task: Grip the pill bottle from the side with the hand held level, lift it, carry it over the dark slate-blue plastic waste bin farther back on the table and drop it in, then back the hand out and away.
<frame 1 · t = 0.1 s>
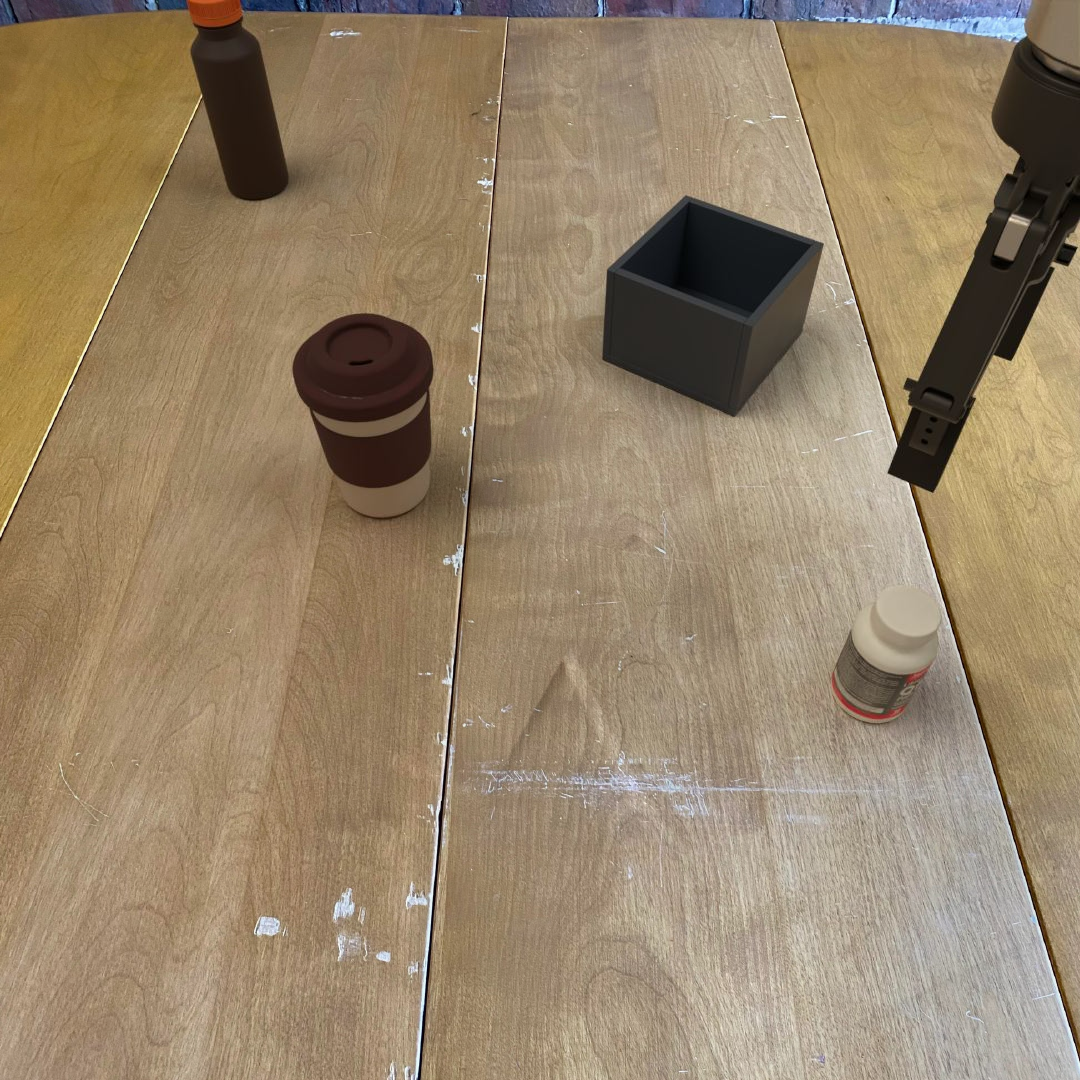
hand: (954, 411, 59), 18 cm above the table, tool pointing down, fingers open, 13 cm apart
coffee cup: (386, 488, 81), on the table
waste bin: (702, 346, 92), on the table
brown water bottle: (259, 185, 110), on the table
pill bottle: (867, 692, 69), on the table
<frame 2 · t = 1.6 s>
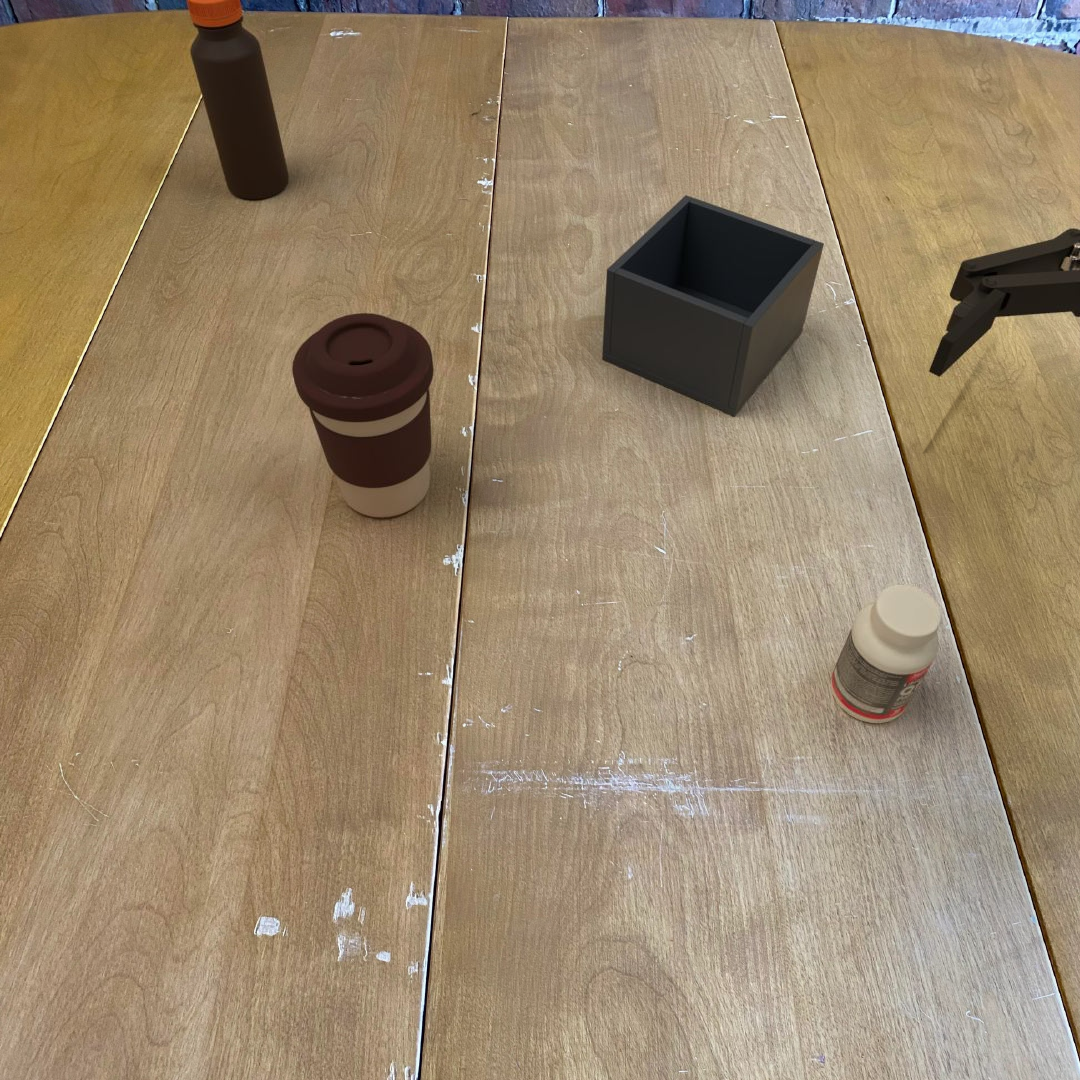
hand: (1046, 411, 57), 20 cm above the table, tool horizontal, fingers open, 13 cm apart
nothing on the table moved.
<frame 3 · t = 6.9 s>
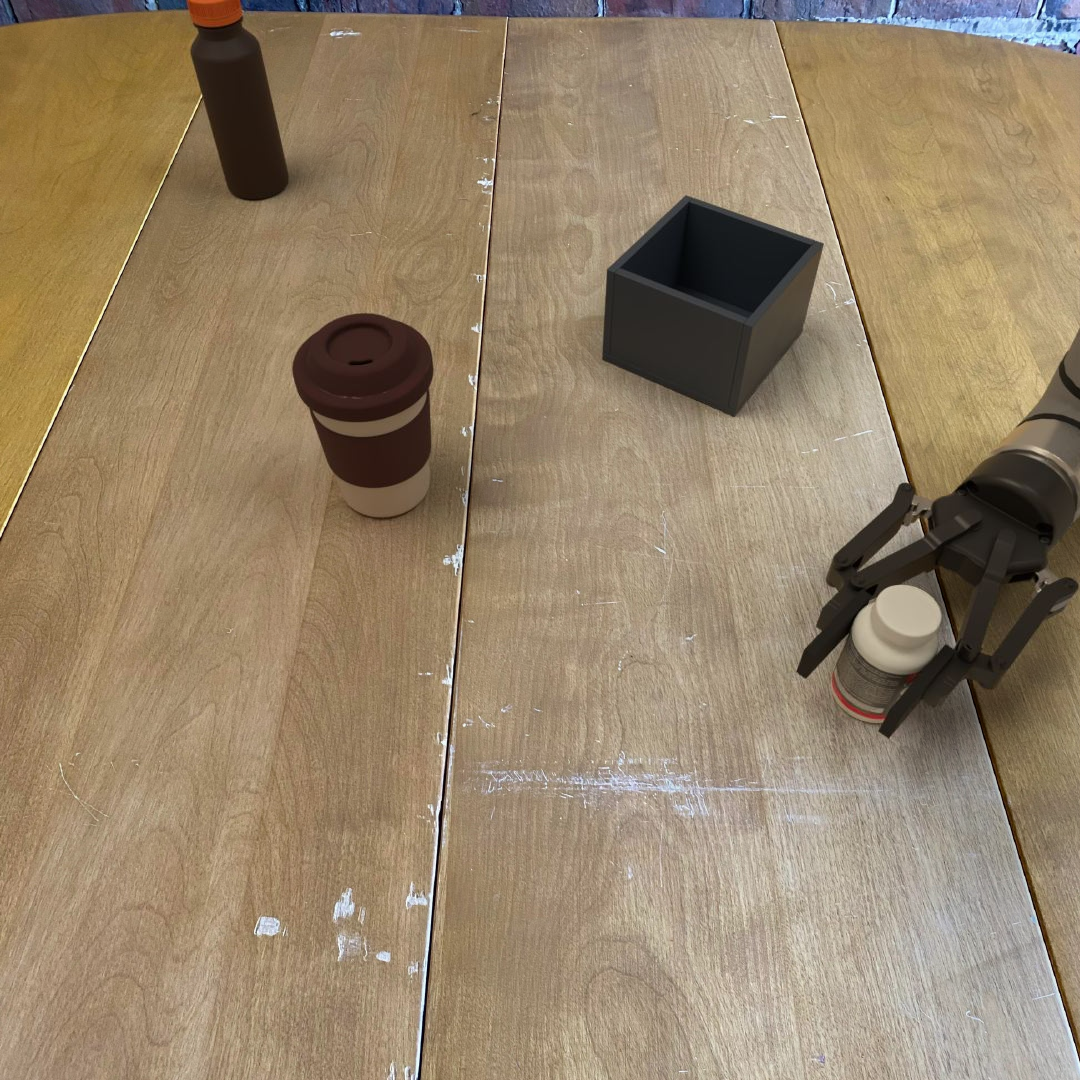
hand: (846, 693, 61), 6 cm above the table, tool horizontal, fingers closed on pill bottle, 5 cm apart
pill bottle: (867, 692, 69), on the table, touching gripper
everything else where it was.
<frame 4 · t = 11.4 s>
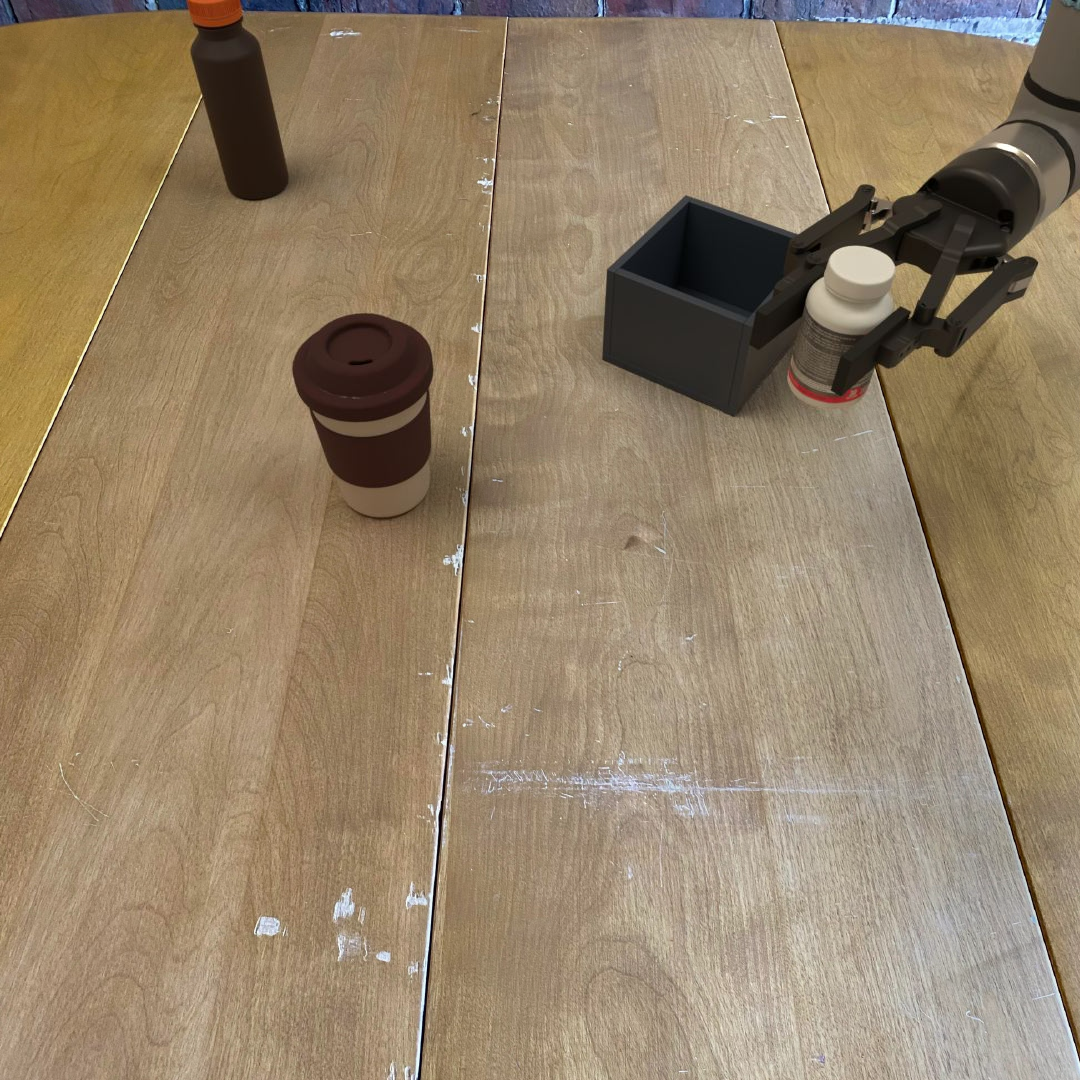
hand: (798, 352, 60), 20 cm above the table, tool horizontal, fingers closed on pill bottle, 5 cm apart
pill bottle: (825, 387, 67), point 14 cm above the table, touching gripper
everything else where it was.
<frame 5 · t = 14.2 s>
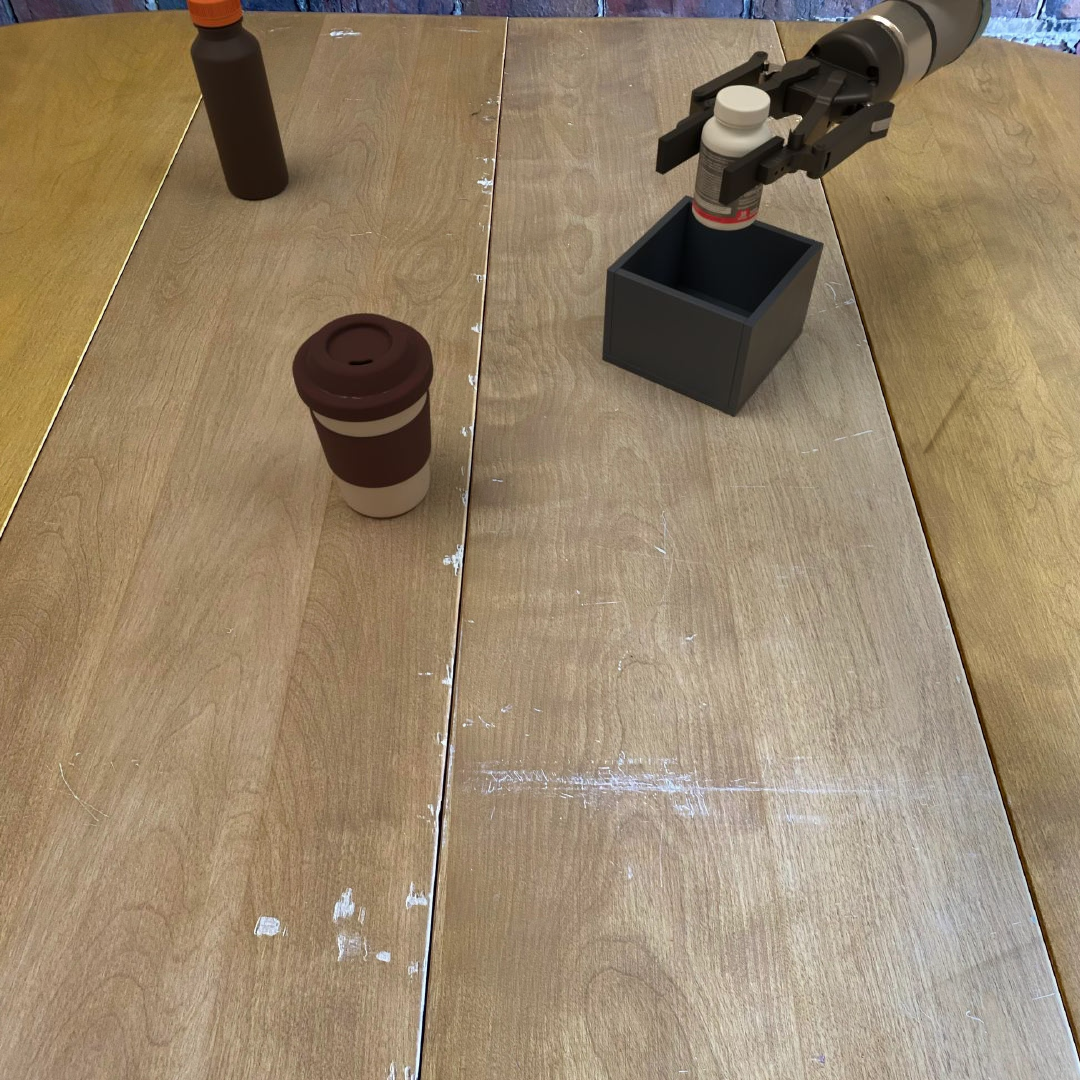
hand: (692, 171, 74), 20 cm above the table, tool horizontal, fingers closed on pill bottle, 5 cm apart
pill bottle: (724, 216, 81), point 14 cm above the table, touching gripper
everything else where it was.
when the fingers open (14 cm above the table, at t = 16.2 s): pill bottle drops 7 cm, resting on waste bin.
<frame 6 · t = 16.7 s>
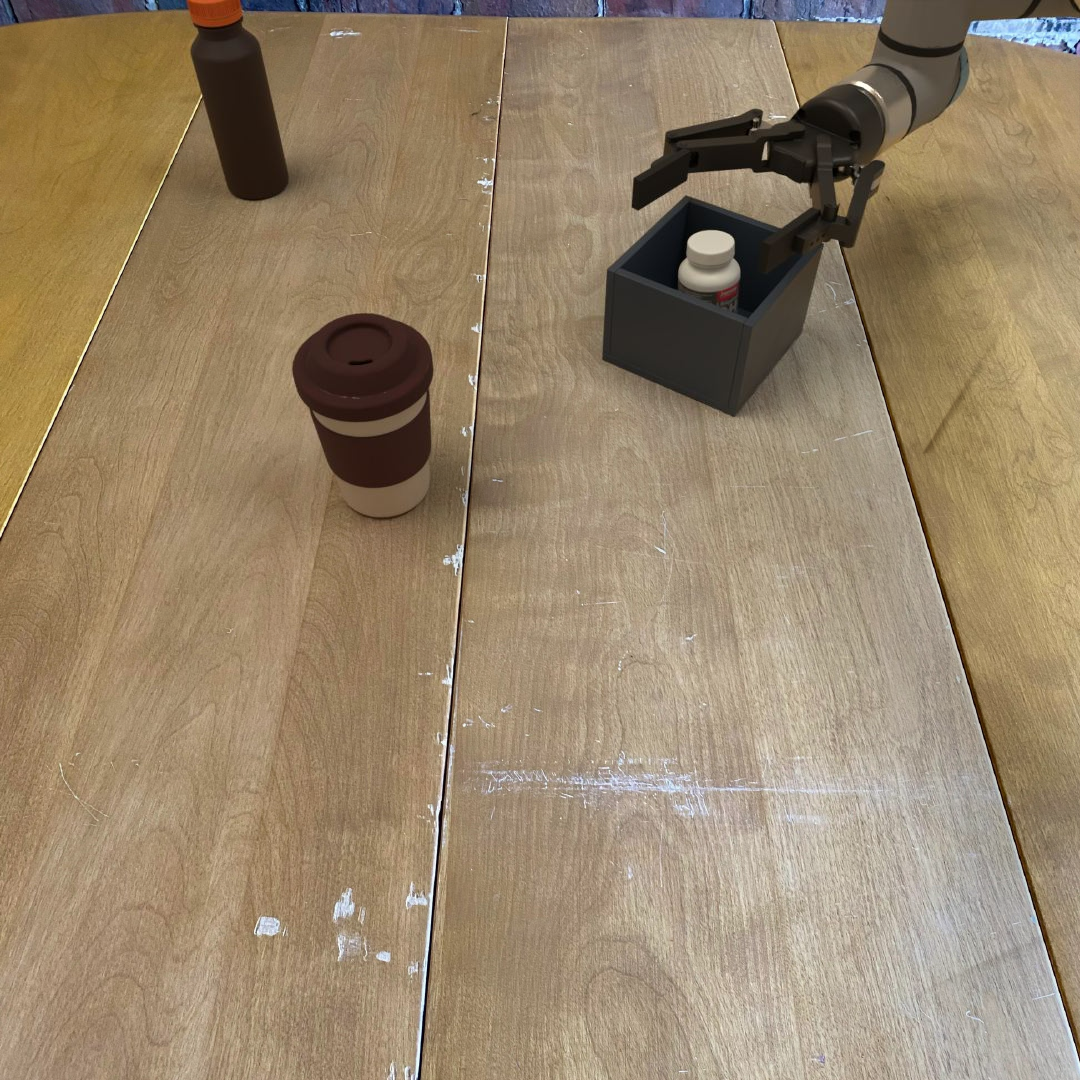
hand: (697, 225, 79), 14 cm above the table, tool horizontal, fingers open, 12 cm apart
pill bottle: (706, 339, 91), point 1 cm above the table, touching waste bin
everything else where it was.
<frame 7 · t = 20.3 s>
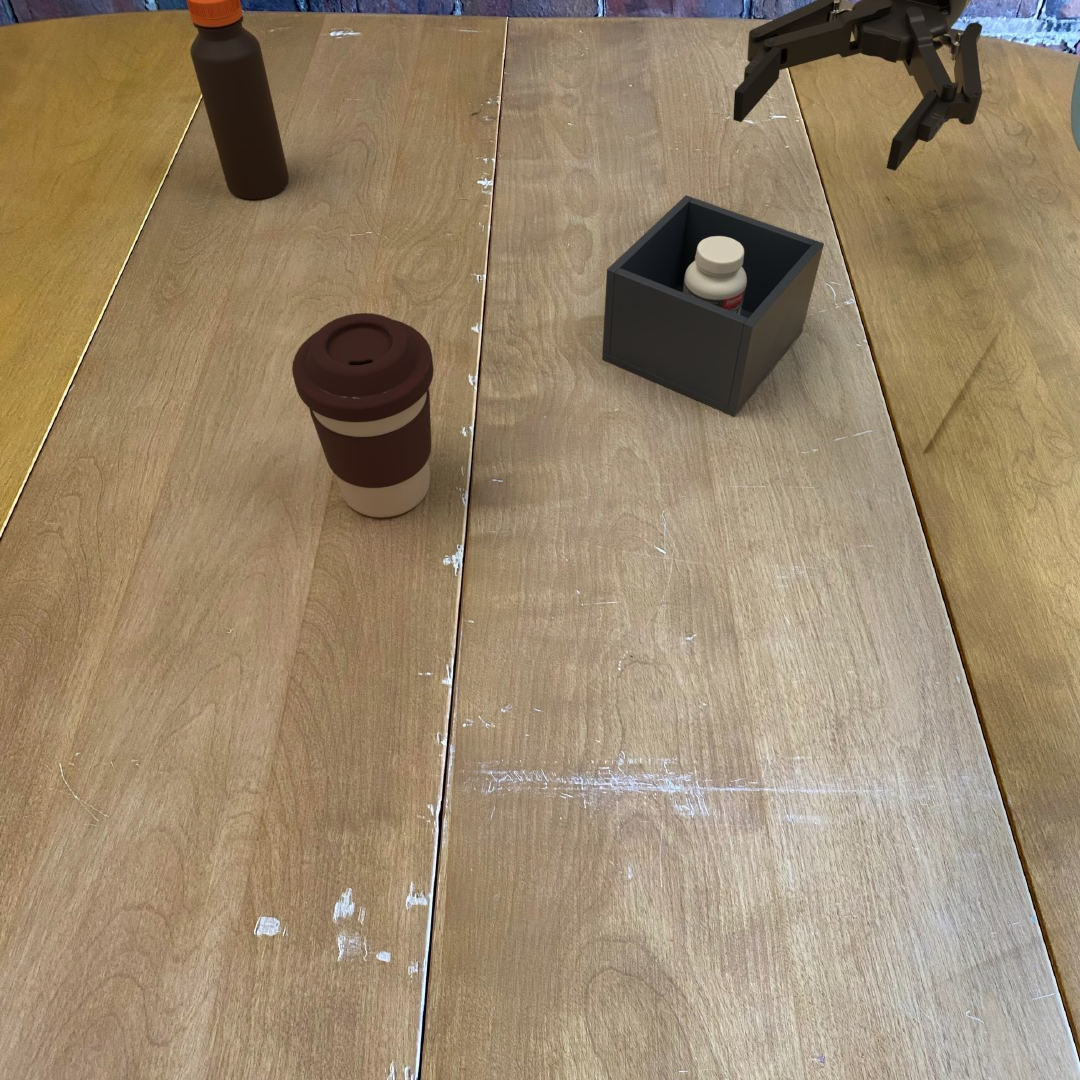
hand: (813, 130, 79), 19 cm above the table, tool horizontal, fingers open, 13 cm apart
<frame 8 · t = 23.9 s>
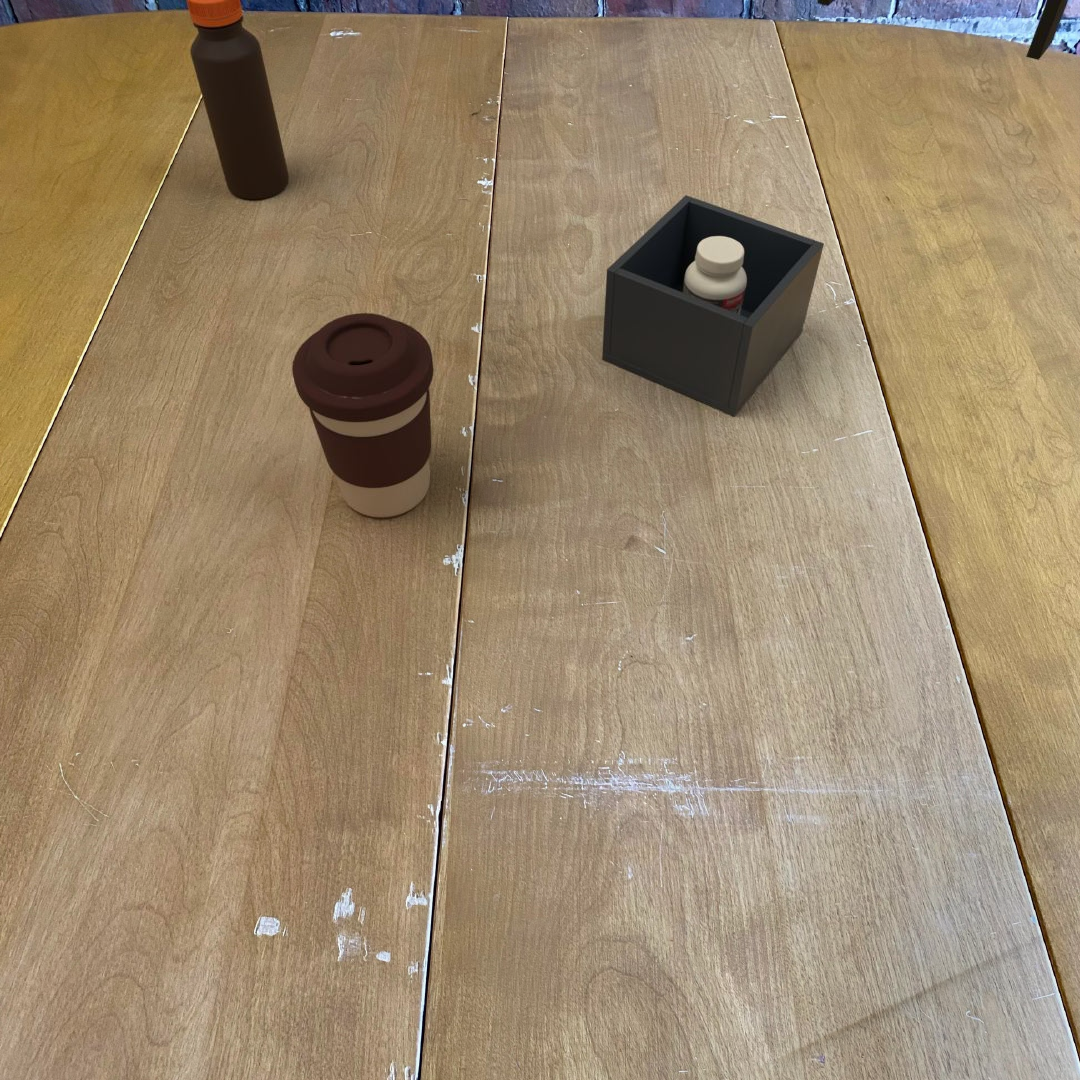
hand: (930, 23, 63), 32 cm above the table, tool pointing down, fingers open, 13 cm apart
nothing on the table moved.
at the end: pill bottle inside the target area in the waste bin (0.2 cm from its centre), point 0.6 cm above the waste bin's base; the gripper is holding nothing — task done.
